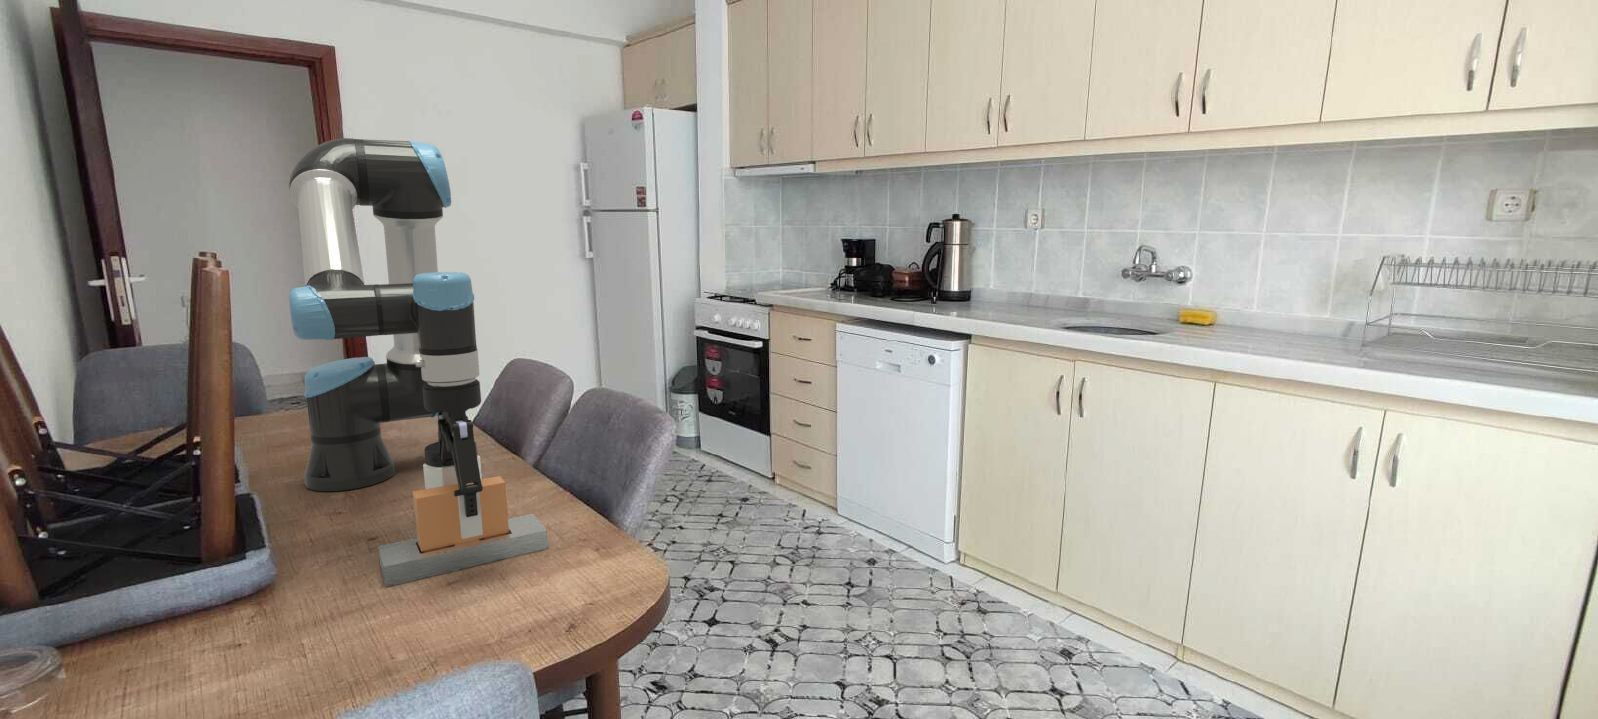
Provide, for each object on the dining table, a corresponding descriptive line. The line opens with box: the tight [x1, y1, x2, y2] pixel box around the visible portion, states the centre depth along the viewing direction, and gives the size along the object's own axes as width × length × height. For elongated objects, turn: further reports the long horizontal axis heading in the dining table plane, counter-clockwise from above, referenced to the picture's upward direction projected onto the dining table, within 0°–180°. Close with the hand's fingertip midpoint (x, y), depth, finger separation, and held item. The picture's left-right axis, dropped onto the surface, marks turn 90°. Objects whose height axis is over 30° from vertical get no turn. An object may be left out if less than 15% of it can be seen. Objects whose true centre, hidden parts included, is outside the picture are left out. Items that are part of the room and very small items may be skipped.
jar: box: [422, 440, 483, 489], centre depth 127 cm, size 9×8×12 cm
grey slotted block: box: [377, 513, 549, 588], centre depth 110 cm, size 8×22×3 cm, turn 124°
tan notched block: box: [412, 475, 509, 553], centre depth 109 cm, size 4×12×11 cm, turn 124°
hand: (463, 520), depth 109 cm, fingers open, 13 cm apart
